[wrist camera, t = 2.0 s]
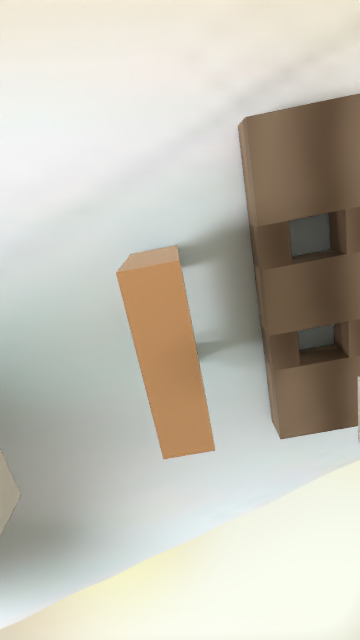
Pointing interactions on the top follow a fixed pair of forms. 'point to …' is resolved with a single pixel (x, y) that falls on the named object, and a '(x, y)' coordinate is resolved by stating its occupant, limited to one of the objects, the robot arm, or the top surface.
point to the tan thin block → (166, 350)
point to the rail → (307, 258)
